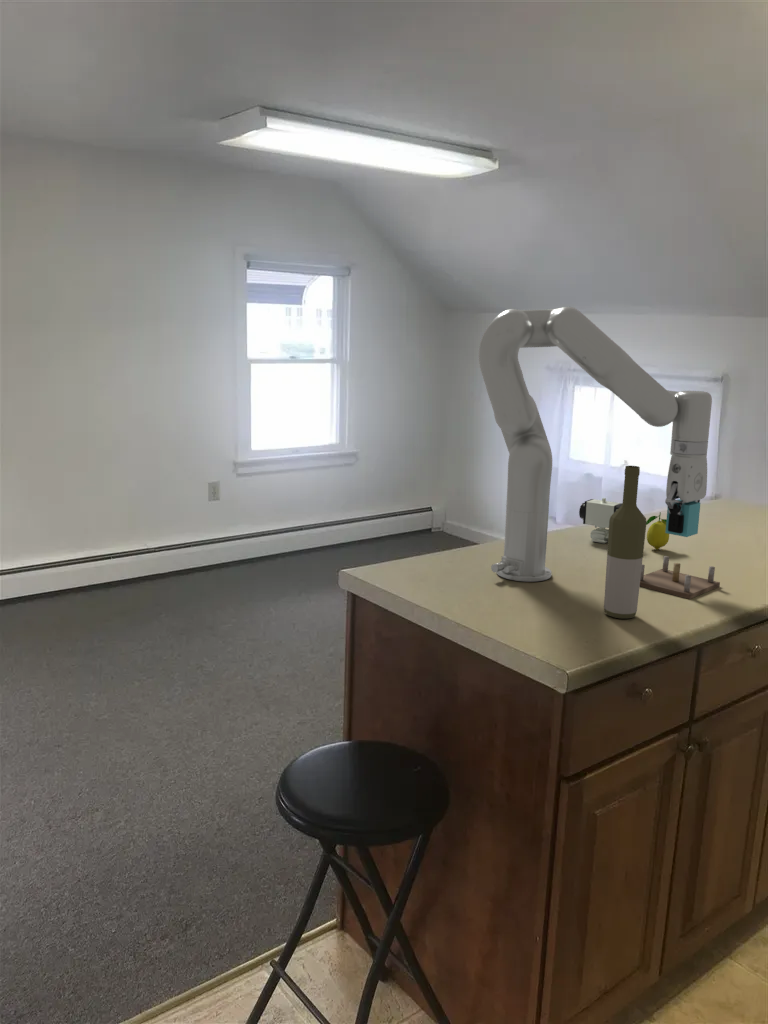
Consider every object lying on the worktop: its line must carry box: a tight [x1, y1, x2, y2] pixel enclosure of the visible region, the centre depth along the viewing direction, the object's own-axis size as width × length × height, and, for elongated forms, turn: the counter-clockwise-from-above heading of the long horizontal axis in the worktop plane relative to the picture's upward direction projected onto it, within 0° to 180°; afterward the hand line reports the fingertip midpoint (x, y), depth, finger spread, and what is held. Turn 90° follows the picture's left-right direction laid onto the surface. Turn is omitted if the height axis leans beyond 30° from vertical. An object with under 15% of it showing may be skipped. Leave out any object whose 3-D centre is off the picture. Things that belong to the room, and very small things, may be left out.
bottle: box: [603, 465, 647, 620], centre depth 164 cm, size 7×7×30 cm
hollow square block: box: [665, 498, 701, 538], centre depth 185 cm, size 5×5×7 cm
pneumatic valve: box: [578, 497, 623, 545], centre depth 225 cm, size 6×12×12 cm, turn 53°
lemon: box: [646, 512, 670, 550], centre depth 218 cm, size 7×6×10 cm
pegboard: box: [640, 555, 721, 600], centre depth 188 cm, size 14×14×5 cm
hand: (681, 529), depth 186 cm, fingers closed on hollow square block, 5 cm apart
